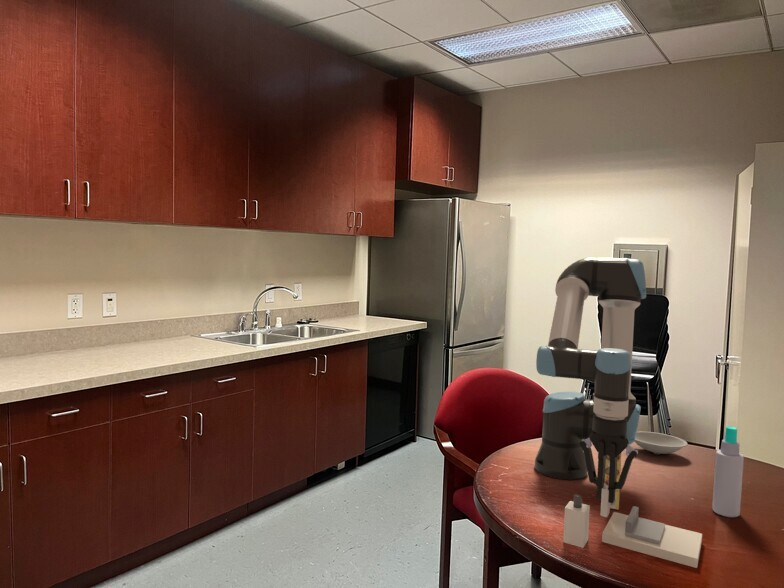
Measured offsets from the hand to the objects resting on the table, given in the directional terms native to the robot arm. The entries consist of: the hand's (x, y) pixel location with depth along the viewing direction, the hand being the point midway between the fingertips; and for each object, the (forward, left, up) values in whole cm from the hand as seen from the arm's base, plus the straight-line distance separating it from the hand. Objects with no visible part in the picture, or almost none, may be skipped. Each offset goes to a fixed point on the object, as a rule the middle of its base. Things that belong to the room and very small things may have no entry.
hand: (604, 514), depth 134 cm
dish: (+3, +66, -4) cm, 66 cm away
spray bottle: (+24, +28, -4) cm, 37 cm away
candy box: (-2, +17, -4) cm, 17 cm away
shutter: (+9, 0, -2) cm, 9 cm away
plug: (-4, -9, -4) cm, 11 cm away
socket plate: (+10, 0, -4) cm, 11 cm away
